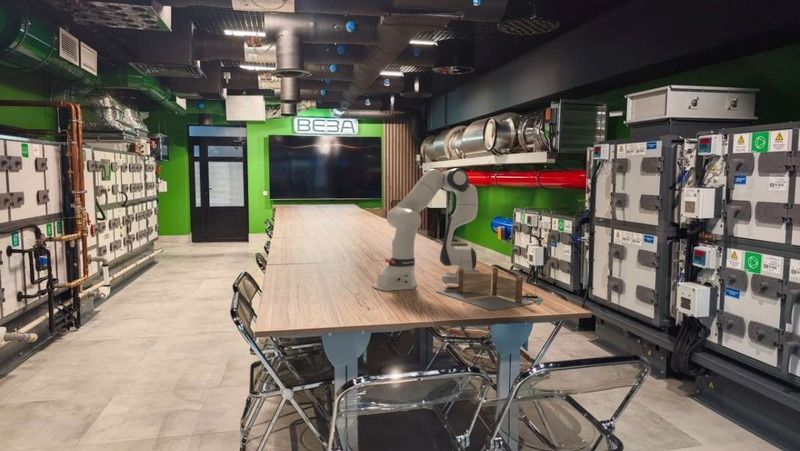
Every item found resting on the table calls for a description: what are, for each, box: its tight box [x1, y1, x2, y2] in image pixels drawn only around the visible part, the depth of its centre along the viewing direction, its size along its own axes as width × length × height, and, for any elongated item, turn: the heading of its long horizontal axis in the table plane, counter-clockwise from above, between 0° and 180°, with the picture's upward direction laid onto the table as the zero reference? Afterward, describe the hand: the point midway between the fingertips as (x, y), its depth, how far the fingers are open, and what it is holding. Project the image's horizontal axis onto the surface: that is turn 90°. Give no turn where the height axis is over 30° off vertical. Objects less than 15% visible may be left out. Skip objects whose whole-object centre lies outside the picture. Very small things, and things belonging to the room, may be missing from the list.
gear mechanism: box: [522, 288, 543, 305], centre depth 238 cm, size 20×5×9 cm
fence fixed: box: [491, 267, 524, 303], centre depth 235 cm, size 2×18×13 cm, turn 33°
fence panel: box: [458, 268, 493, 293], centre depth 243 cm, size 2×15×11 cm, turn 78°
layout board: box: [435, 287, 534, 312], centre depth 239 cm, size 24×39×1 cm, turn 32°
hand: (462, 282), depth 246 cm, fingers closed
